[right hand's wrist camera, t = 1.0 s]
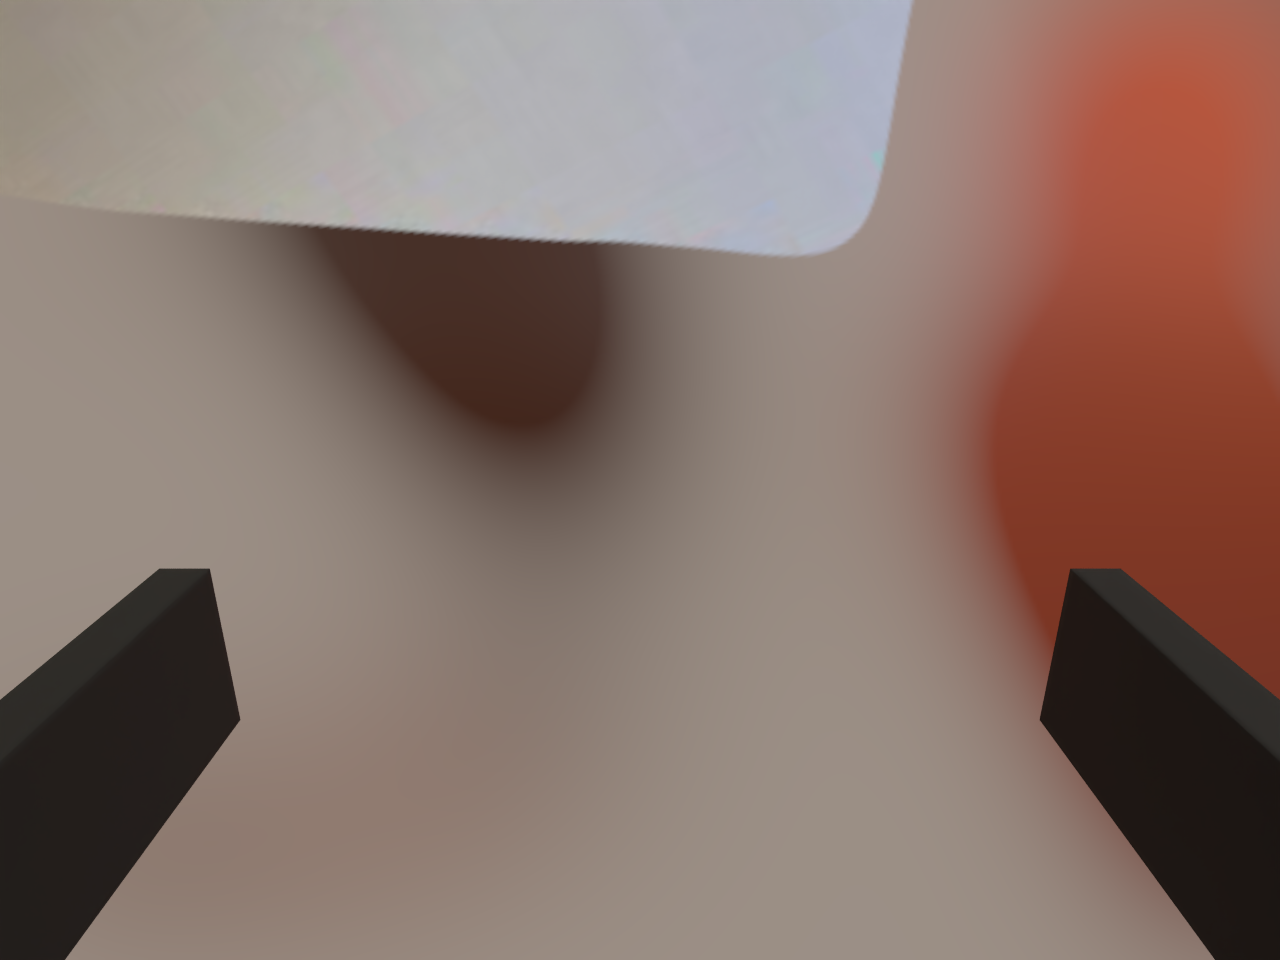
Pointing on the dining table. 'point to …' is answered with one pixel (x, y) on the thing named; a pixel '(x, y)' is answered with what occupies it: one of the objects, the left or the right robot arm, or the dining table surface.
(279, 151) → the dining table surface
